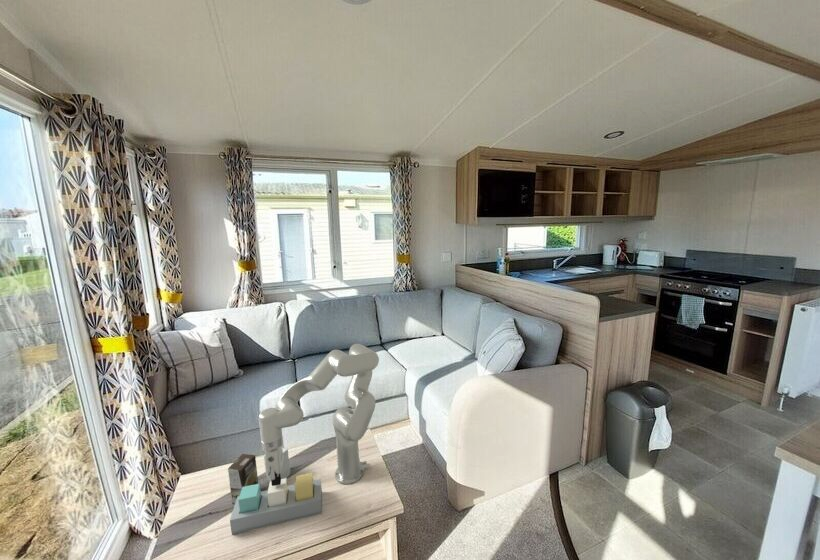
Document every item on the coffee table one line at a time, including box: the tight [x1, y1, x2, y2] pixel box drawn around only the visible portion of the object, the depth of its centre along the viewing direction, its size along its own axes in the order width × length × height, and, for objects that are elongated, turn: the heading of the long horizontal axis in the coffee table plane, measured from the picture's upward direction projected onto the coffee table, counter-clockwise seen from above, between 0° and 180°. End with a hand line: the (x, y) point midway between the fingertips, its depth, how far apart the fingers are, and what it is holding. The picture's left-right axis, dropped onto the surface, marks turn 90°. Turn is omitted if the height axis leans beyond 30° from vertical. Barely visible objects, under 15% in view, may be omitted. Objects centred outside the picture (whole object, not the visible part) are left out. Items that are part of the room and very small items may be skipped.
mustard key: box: [295, 472, 314, 501], centre depth 130 cm, size 6×6×7 cm
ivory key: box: [267, 477, 288, 507], centre depth 127 cm, size 6×6×7 cm
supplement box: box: [263, 447, 291, 482], centre depth 146 cm, size 7×7×13 cm
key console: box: [229, 478, 323, 535], centre depth 128 cm, size 32×11×6 cm, turn 104°
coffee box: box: [227, 453, 260, 504], centre depth 136 cm, size 9×6×16 cm
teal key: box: [238, 483, 261, 514], centre depth 125 cm, size 6×6×7 cm
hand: (276, 483), depth 127 cm, fingers closed
